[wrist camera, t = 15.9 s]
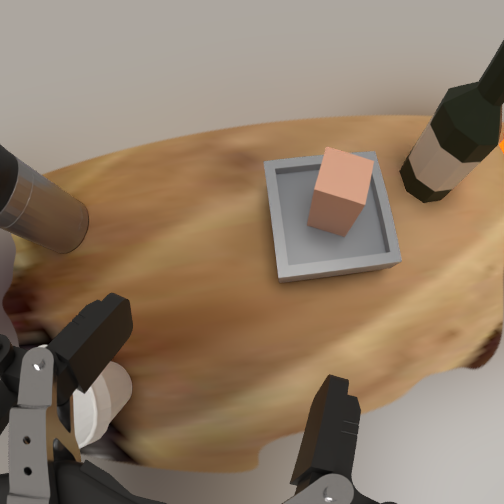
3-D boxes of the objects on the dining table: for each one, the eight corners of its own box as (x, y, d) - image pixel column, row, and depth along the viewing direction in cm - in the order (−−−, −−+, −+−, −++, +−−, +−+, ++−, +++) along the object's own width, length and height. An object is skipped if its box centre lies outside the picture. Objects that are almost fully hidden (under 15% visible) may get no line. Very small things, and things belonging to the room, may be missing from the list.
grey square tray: (279, 285, 40) (278, 277, 33) (266, 185, 43) (263, 161, 37) (383, 271, 39) (401, 261, 32) (363, 175, 42) (374, 151, 36)
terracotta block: (344, 237, 35) (365, 205, 26) (306, 225, 36) (314, 189, 26) (353, 201, 36) (374, 161, 26) (317, 190, 37) (326, 146, 27)
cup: (165, 408, 38) (117, 437, 25) (102, 432, 37) (47, 458, 24) (125, 329, 41) (66, 326, 28) (68, 360, 41) (6, 364, 27)
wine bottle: (389, 168, 42) (473, 5, 13) (423, 146, 43) (507, 3, 14) (423, 213, 40) (551, 80, 11) (455, 187, 41) (569, 65, 12)
